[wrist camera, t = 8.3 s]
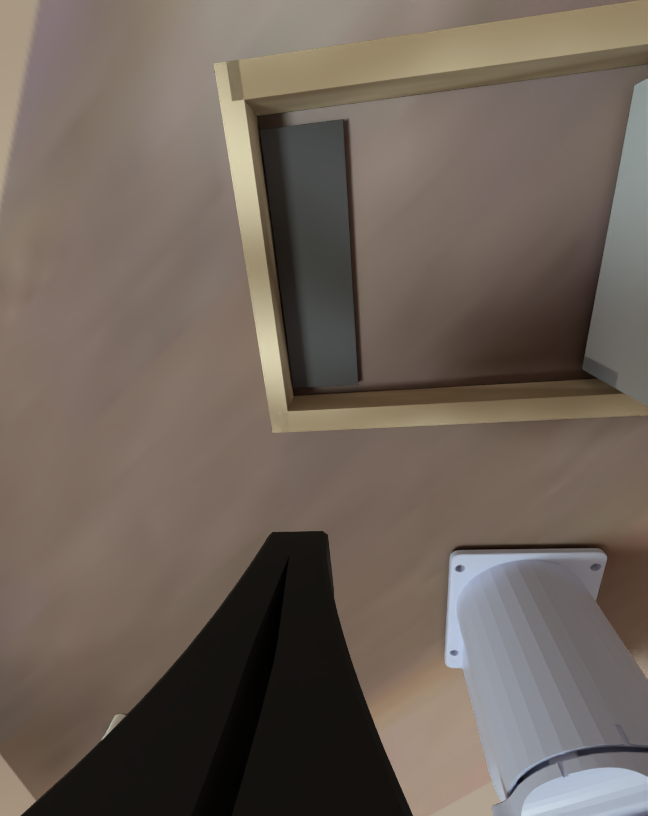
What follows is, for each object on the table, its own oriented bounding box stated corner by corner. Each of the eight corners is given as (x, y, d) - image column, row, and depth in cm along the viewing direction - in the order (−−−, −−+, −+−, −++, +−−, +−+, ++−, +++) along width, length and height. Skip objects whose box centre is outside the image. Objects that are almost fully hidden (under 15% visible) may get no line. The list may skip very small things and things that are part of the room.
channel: (828, 391, 16) (907, 417, 14) (280, 419, 19) (269, 445, 17) (1026, -38, 11) (1207, -112, 9) (229, 77, 14) (203, 44, 11)
